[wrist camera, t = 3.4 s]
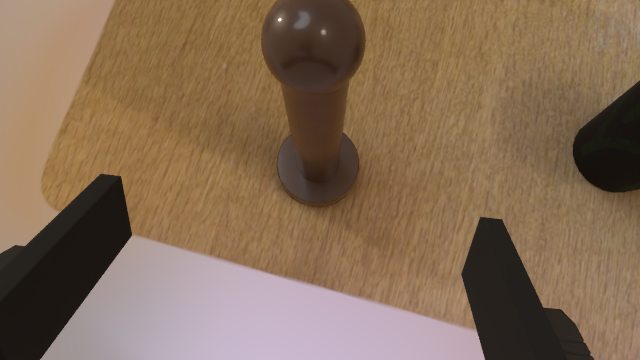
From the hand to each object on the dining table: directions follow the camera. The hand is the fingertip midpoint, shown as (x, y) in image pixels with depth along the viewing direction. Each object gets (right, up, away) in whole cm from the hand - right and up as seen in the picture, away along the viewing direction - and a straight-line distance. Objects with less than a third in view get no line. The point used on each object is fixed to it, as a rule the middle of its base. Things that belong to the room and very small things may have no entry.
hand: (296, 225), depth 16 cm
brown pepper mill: (+1, +3, +15) cm, 15 cm away
